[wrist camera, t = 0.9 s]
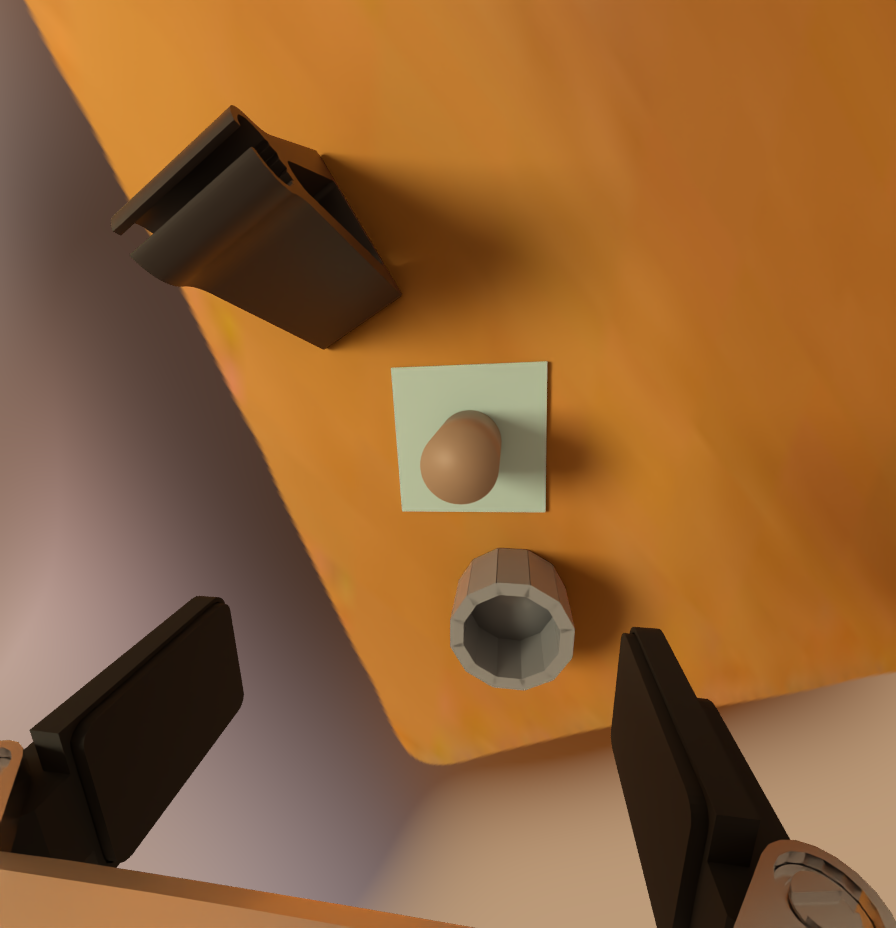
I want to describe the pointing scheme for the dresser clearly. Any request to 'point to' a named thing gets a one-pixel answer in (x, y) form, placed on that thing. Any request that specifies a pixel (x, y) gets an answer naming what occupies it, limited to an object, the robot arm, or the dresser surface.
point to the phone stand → (260, 232)
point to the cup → (512, 620)
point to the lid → (472, 437)
